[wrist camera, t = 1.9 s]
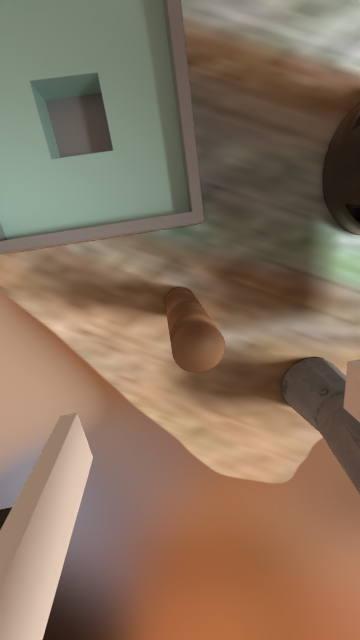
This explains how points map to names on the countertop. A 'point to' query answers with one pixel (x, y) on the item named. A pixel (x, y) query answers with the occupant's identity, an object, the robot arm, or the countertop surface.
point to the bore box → (94, 122)
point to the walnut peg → (192, 332)
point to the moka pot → (325, 409)
